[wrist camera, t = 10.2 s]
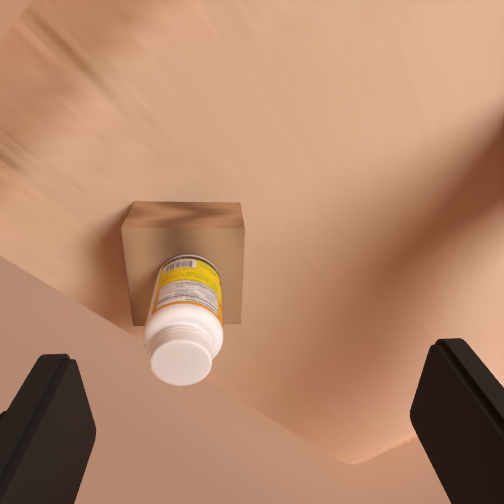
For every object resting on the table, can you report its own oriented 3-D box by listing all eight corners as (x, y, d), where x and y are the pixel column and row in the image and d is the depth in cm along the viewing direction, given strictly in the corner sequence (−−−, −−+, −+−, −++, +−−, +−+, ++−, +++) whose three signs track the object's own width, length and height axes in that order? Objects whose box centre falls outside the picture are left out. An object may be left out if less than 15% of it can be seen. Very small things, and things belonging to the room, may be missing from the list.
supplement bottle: (195, 314, 35) (189, 406, 26) (144, 283, 33) (118, 372, 24) (234, 274, 33) (242, 357, 24) (182, 239, 31) (170, 316, 22)
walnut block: (240, 202, 36) (244, 228, 31) (236, 288, 41) (240, 323, 36) (134, 201, 35) (120, 227, 30) (143, 289, 40) (133, 325, 35)
